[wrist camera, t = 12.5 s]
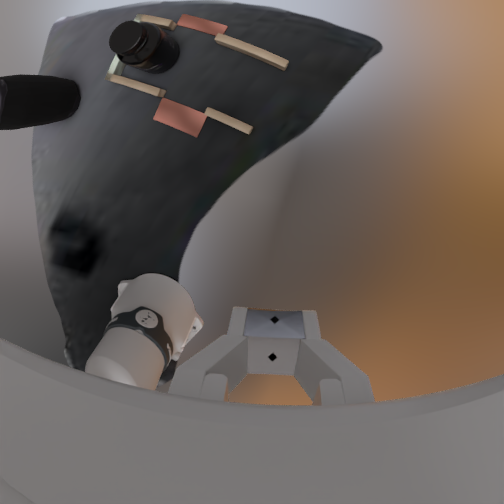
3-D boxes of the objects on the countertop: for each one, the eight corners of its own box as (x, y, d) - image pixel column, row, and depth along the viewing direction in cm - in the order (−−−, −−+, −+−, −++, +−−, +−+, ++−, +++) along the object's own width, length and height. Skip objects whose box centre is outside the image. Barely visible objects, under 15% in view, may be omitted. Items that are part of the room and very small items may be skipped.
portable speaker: (75, 127, 39) (-7, 142, 21) (45, 115, 38) (-31, 127, 20) (90, 83, 35) (8, 79, 18) (59, 74, 34) (-18, 72, 16)
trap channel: (238, 156, 40) (236, 157, 38) (104, 101, 37) (96, 100, 35) (294, 53, 33) (295, 49, 30) (150, 7, 29) (144, 3, 27)
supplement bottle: (154, 82, 36) (115, 71, 25) (134, 56, 34) (93, 41, 23) (189, 55, 34) (158, 33, 23) (166, 29, 32) (133, 4, 21)
